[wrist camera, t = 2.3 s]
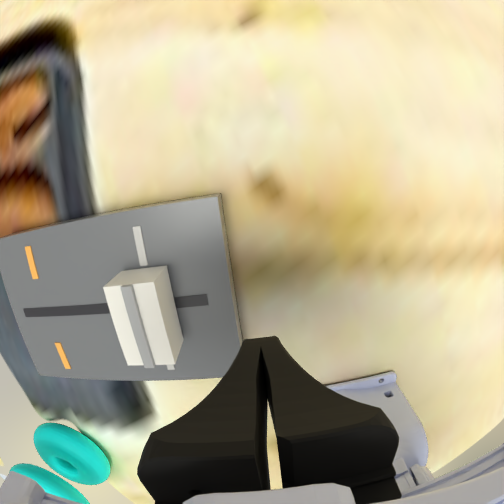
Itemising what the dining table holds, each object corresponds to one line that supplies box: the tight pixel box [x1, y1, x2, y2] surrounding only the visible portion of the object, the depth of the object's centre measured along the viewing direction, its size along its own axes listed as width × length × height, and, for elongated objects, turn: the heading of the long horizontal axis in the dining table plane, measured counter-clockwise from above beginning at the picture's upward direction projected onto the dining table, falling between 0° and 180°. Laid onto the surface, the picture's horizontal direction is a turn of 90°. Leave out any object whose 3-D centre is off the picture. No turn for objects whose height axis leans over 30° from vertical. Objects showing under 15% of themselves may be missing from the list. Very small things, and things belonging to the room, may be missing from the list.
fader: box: [103, 265, 184, 368], centre depth 17 cm, size 3×5×3 cm, turn 7°
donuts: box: [9, 423, 110, 504], centre depth 21 cm, size 10×10×10 cm
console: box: [0, 193, 243, 381], centre depth 20 cm, size 18×12×3 cm, turn 97°
